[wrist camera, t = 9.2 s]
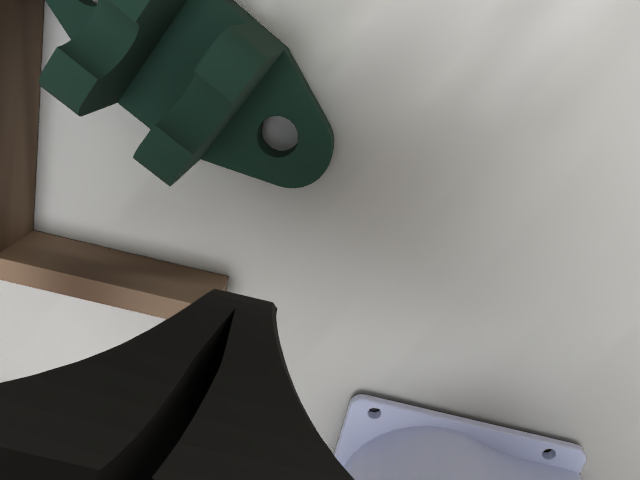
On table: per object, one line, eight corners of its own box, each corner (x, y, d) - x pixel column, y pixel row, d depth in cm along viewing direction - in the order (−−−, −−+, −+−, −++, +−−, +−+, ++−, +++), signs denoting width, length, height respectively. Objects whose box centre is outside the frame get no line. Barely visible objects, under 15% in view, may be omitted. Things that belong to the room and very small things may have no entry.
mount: (367, 115, 20) (368, 148, 15) (285, 211, 21) (262, 268, 17) (93, -123, 18) (-3, -168, 13) (22, 1, 19) (-86, -2, 15)
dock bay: (324, -234, 16) (317, -274, 14) (225, 295, 22) (208, 328, 20) (29, -308, 16) (-28, -361, 14) (11, 244, 22) (-31, 272, 20)
